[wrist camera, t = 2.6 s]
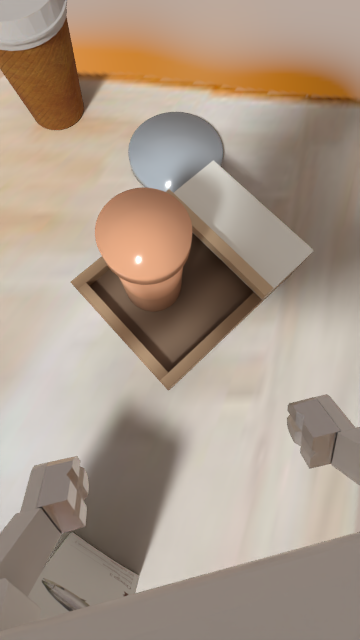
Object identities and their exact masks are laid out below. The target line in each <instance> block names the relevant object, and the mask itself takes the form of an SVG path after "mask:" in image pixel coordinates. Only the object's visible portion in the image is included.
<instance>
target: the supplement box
mask: <svg viewBox="0 0 360 640" xmlns="http://www.w3.org/2000/svg"><path fill="white" fill-rule="evenodd" d="M138 580H139V576H138V575H137V574H135V573H134V572H132V571H130V570H128V569H127V568H125V567H123V566H122V565H120V564H118V563H117V562H115V561H114V560H112V559H110V558H109V557H107V556H106V555H104V554H103V553H102V552H100V551H99V550H97V549H96V548H94V547H93V546H91V545H90V544H88V543H87V542H86V541H84V540H83V539H81V538H80V537H79V536H77V535H76V534H75V533H73V532H71V533H70V534H69V535H68V536H67V538H66V539H65V540H64V541H63V543H62V544H61V545H60V547H59V548H58V550H57V551H56V552H55V554H54V555H53V556H52V558H51V559H50V560H49V561H48V563H47V564H46V565H45V567H44V568H43V570H42V572H41V574H40V576H39V577H38V579H37V581H36V583H35V585H34V587H33V588H32V590H31V592H30V594H29V596H28V597H29V598H30V599H31V600H32V601H34V602H35V603H36V604H37V605H38V606H39V607H40V609H41V612H40V619H39V620H41V619H44V618H48V617H51V616H55V615H59V614H62V613H66V612H70V611H73V610H77V609H80V608H84V607H88V606H91V605H95V604H99V603H102V602H106V601H110V600H113V599H117V598H120V597H124V596H128V595H131V594H135V592H136V588H137V584H138Z"/></svg>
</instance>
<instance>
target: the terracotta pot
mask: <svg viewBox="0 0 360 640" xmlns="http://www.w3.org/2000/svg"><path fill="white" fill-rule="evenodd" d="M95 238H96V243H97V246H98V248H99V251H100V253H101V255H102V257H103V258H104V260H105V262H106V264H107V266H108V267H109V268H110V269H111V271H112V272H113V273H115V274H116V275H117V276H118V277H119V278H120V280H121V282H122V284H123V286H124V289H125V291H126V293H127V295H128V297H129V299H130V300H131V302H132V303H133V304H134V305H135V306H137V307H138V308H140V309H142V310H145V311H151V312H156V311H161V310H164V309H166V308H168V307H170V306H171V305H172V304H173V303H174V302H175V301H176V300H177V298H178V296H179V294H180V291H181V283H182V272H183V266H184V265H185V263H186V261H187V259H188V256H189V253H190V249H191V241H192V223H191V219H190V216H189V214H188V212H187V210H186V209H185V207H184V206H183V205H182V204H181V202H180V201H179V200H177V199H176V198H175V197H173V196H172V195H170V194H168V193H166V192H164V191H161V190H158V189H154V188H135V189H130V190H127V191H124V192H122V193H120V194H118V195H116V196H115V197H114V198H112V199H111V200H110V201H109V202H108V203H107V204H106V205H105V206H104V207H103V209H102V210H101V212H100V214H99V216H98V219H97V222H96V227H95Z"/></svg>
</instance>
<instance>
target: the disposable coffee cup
mask: <svg viewBox="0 0 360 640" xmlns="http://www.w3.org/2000/svg"><path fill="white" fill-rule="evenodd" d="M66 6H67V0H0V69H1V71H2V72H3V74H4V75H5V77H6V78H7V79H8V81H9V82H10V84H11V85H12V86H13V88H14V89H15V91H16V92H17V94H18V95H19V97H20V98H21V100H22V101H23V103H24V104H25V105H26V107H27V108H28V110H29V111H30V113H31V114H32V116H33V117H34V118H35V120H36V121H37V123H38V124H40V125H41V126H42V127H45V128H47V129H51V130H62V129H65V128H68V127H70V126H72V125H74V124H75V123H76V122H77V121H78V120H79V119H80V118H81V116H82V114H83V110H84V105H83V100H82V95H81V90H80V85H79V79H78V74H77V69H76V64H75V59H74V53H73V48H72V43H71V38H70V33H69V28H68V23H67V18H66V13H67V9H66Z"/></svg>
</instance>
